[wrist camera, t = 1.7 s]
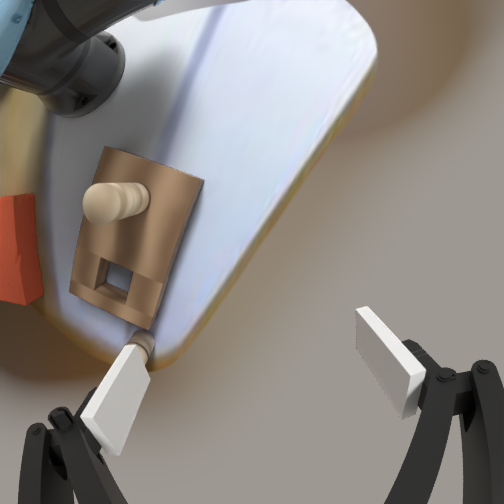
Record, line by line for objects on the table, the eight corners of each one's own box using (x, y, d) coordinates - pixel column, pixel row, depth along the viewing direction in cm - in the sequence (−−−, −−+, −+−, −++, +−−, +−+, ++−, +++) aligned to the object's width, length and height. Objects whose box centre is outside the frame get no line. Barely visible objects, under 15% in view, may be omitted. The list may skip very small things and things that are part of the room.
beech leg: (130, 344, 43) (97, 397, 29) (134, 325, 42) (99, 376, 28) (152, 354, 43) (126, 410, 29) (158, 335, 42) (130, 390, 29)
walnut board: (81, 283, 40) (31, 319, 26) (117, 149, 35) (63, 136, 22) (156, 318, 41) (125, 370, 28) (204, 180, 37) (182, 177, 23)
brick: (5, 196, 36) (-16, 199, 30) (35, 192, 36) (13, 195, 31) (15, 289, 40) (-3, 299, 34) (45, 294, 41) (26, 306, 35)
